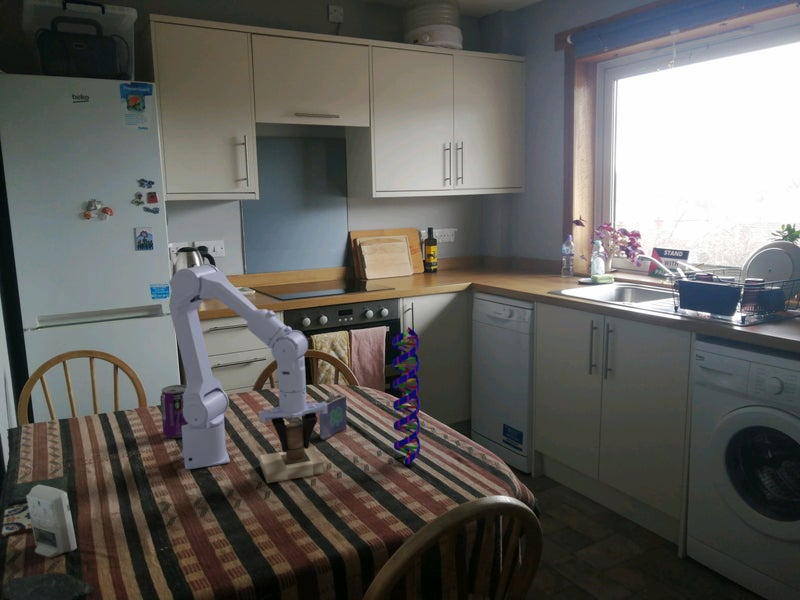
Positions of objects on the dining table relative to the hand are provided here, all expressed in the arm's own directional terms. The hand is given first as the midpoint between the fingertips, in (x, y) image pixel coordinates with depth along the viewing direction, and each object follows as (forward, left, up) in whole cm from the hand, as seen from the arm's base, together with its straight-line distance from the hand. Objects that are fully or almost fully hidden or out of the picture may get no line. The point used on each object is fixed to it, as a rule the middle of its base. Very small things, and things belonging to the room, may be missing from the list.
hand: (295, 448), depth 138 cm
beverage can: (-23, +32, -5) cm, 39 cm away
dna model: (+24, -5, -5) cm, 25 cm away
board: (-1, 0, -5) cm, 5 cm away
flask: (+13, +17, -5) cm, 22 cm away
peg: (0, 0, -2) cm, 2 cm away
